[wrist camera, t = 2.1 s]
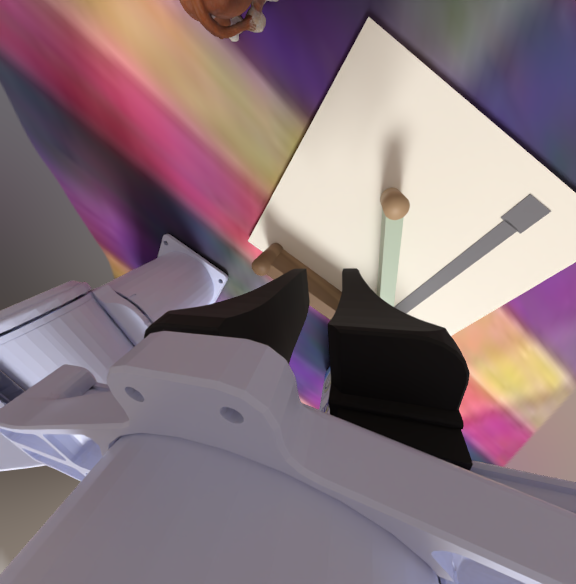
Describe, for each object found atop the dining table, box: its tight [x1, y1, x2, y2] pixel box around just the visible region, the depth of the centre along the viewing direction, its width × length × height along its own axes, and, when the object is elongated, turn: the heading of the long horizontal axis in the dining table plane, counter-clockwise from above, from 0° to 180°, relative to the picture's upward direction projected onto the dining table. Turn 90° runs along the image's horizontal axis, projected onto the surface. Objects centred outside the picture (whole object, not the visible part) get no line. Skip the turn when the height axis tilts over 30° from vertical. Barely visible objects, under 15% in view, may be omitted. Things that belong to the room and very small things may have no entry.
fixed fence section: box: [252, 243, 342, 320], centre depth 20 cm, size 1×12×4 cm, turn 57°
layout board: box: [248, 17, 576, 336], centre depth 18 cm, size 16×20×1 cm
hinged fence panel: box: [377, 187, 410, 307], centre depth 18 cm, size 13×2×4 cm, turn 7°
